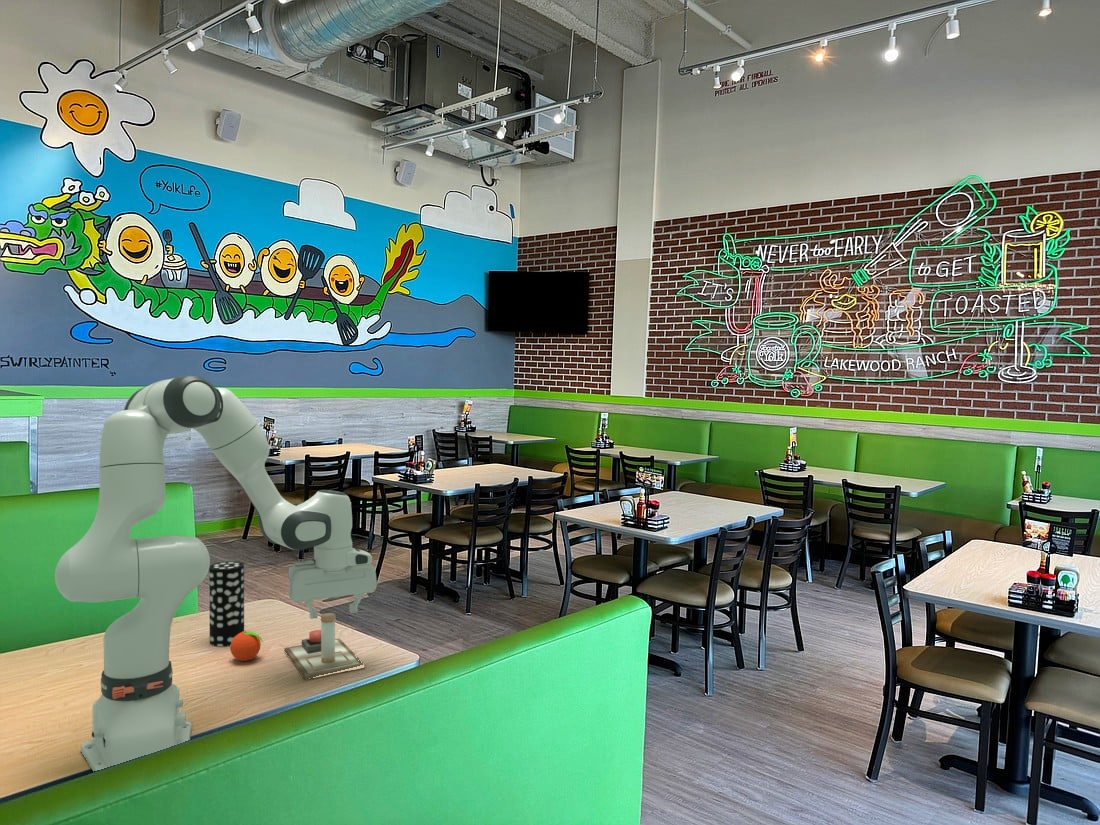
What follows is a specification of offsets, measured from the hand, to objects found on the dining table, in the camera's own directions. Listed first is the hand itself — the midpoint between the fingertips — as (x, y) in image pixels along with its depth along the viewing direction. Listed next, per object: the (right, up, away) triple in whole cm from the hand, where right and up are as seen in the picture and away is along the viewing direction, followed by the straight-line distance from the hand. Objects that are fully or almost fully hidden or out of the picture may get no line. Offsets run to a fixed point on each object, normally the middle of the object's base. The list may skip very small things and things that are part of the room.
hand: (333, 615), depth 183 cm
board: (-4, -13, +6) cm, 14 cm away
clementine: (-22, -13, +5) cm, 26 cm away
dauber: (-2, -12, +2) cm, 12 cm away
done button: (-7, -9, +10) cm, 16 cm away
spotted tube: (-33, -12, +17) cm, 39 cm away
